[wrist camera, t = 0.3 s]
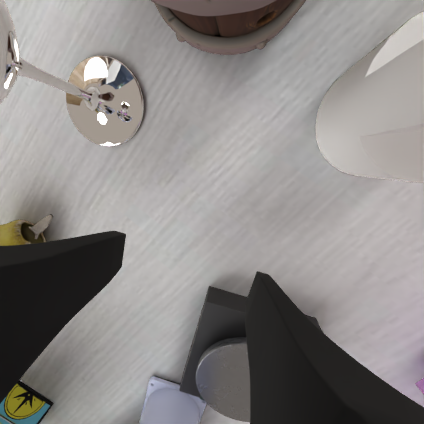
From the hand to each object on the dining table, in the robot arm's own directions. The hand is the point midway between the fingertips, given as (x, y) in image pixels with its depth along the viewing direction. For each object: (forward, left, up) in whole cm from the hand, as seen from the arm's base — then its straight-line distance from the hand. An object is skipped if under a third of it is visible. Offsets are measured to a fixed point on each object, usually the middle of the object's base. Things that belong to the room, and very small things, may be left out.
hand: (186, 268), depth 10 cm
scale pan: (-14, -8, -6) cm, 17 cm away
